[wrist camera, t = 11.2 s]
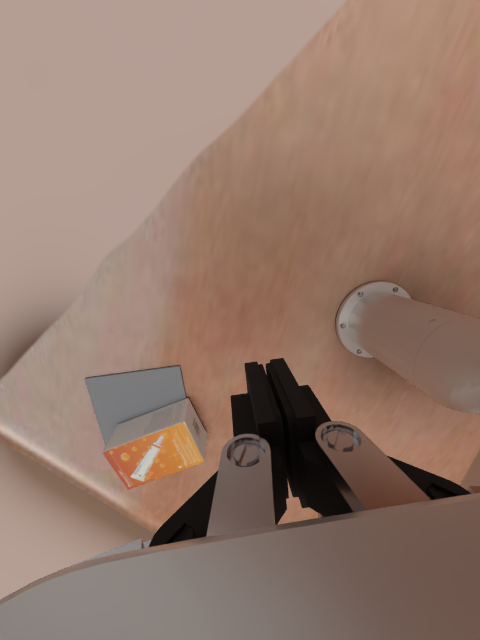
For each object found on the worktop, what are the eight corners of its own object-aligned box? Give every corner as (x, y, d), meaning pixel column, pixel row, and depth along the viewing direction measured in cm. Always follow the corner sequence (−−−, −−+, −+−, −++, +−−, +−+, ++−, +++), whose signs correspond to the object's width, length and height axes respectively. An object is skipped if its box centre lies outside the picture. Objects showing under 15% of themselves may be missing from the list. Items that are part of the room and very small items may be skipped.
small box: (205, 462, 39) (127, 491, 40) (207, 433, 45) (139, 458, 46) (183, 421, 37) (100, 452, 37) (188, 396, 43) (117, 423, 43)
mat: (179, 365, 42) (179, 366, 41) (196, 450, 47) (196, 452, 46) (85, 377, 41) (84, 378, 41) (112, 462, 46) (111, 464, 46)
